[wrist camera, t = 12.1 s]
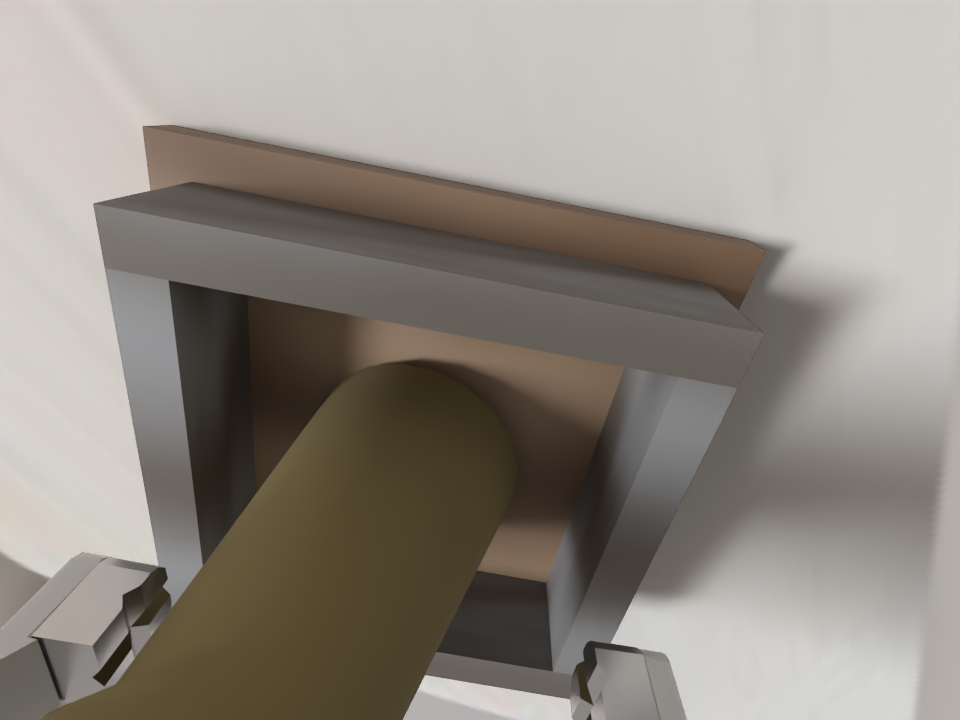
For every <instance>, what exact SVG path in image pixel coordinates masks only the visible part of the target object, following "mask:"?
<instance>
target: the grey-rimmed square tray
mask: <svg viewBox="0 0 960 720" xmlns="http://www.w3.org/2000/svg"><path fill="white" fill-rule="evenodd" d="M143 134H144V142H145V150H146V158H147V166H148V174H149V182H150V190H151V191H148V192H143V193H139V194H134V195H130V196H125V197H121V198H116V199H112V200H107V201H103V202H98V203H94V204H93V205H94V211H95V216H96V222H97V227H98V233H99V238H100V244H101V249H102V255H103V260H104V266H105V271H106V277H107V282H108V288H109V293H110V299H111V305H112V310H113V316H114V321H115V327H116V332H117V338H118V343H119V349H120V354H121V360H122V365H123V371H124V376H125V382H126V387H127V393H128V398H129V404H130V409H131V415H132V420H133V426H134V432H135V437H136V443H137V448H138V454H139V459H140V465H141V470H142V476H143V481H144V487H145V492H146V498H147V503H148V509H149V514H150V520H151V525H152V531H153V536H154V542H155V547H156V553H157V559H158V564H159V566H160V567H165V568H166V573H167V577H168V580H167V581H166V582H165V584H164V585H163V588H164V589H165V590H166V591H167V592H168V593H169V594H170V595H171V603H172V604H171V608H172V607H173V606H174V604H175V603H176V602H177V600H178V599H179V598H180V596H181V595H182V594H183V592H184V591H185V589H186V588H187V587H188V585H189V584H190V583H191V581H192V580H193V579H194V577H195V576H196V575H197V573H198V572H199V571H200V569H201V568H202V566H203V565H204V564H205V562H206V561H207V560H208V558H209V557H210V556H211V554H212V553H213V552H214V550H215V549H216V547H217V546H218V545H219V543H220V542H221V541H222V539H223V538H224V537H225V535H226V534H227V533H228V531H229V530H230V528H231V527H232V526H233V524H234V523H235V522H236V520H237V519H238V518H239V516H240V515H241V514H242V512H243V511H244V509H245V508H246V507H247V505H248V504H249V503H250V501H251V500H252V499H253V497H254V496H255V495H256V493H257V492H258V490H259V489H260V488H261V486H262V485H263V484H264V482H265V481H266V480H267V478H268V477H269V476H270V474H271V473H272V471H273V470H274V469H275V467H276V466H277V465H278V463H279V462H280V461H281V459H282V458H283V457H284V455H285V454H286V452H287V451H288V450H289V448H290V447H291V446H292V444H293V443H294V442H295V440H296V439H297V438H298V436H299V435H300V433H301V432H302V431H303V429H304V428H305V427H306V425H307V424H308V423H309V421H310V420H311V419H312V417H313V416H314V414H315V413H316V412H317V410H318V409H319V408H320V406H321V405H322V404H323V402H324V401H325V400H326V398H327V397H328V396H329V395H330V394H331V392H332V391H333V390H334V389H335V388H336V386H337V385H338V384H339V383H340V382H341V381H342V379H344V378H346V377H348V376H350V375H352V374H354V373H356V372H358V371H360V370H362V369H364V368H366V367H369V366H378V365H387V364H396V363H401V364H406V365H411V366H416V367H421V368H426V369H431V370H435V371H437V372H439V373H441V374H443V375H445V376H447V377H449V378H451V379H453V380H455V381H457V382H459V383H461V384H463V385H465V386H466V387H468V388H469V389H470V390H471V391H472V392H473V393H474V394H475V395H477V396H478V397H479V398H480V399H481V400H482V401H483V402H484V403H485V404H487V405H488V406H489V407H490V408H491V409H492V410H493V411H494V412H495V414H496V416H497V417H498V419H499V420H500V422H501V424H502V425H503V427H504V428H505V430H506V432H507V433H508V435H509V436H510V438H511V440H512V444H513V448H514V453H515V457H516V461H517V465H518V475H517V482H516V488H515V495H514V497H513V499H512V501H511V503H510V505H509V507H508V509H507V511H506V513H505V515H504V517H503V519H502V521H501V523H500V525H499V527H498V529H497V531H496V533H495V535H494V537H493V539H492V541H491V543H490V545H489V547H488V549H487V551H486V553H485V555H484V557H483V559H482V561H481V563H480V566H479V568H478V570H477V572H476V574H475V576H474V578H473V580H472V582H471V584H470V586H469V588H468V590H467V592H466V594H465V596H464V598H463V600H462V602H461V604H460V606H459V608H458V610H457V612H456V614H455V616H454V618H453V620H452V622H451V624H450V626H449V628H448V630H447V632H446V634H445V636H444V638H443V640H442V642H441V644H440V646H439V648H438V650H437V652H436V654H435V656H434V658H433V660H432V662H431V664H430V666H429V668H428V670H427V672H426V674H425V675H429V676H435V677H441V678H447V679H453V680H459V681H465V682H470V683H476V684H482V685H488V686H494V687H500V688H506V689H512V690H518V691H524V692H530V693H536V694H542V695H548V696H554V697H560V698H566V699H570V689H571V682H572V675H573V673H574V670H575V667H576V665H577V664H578V663H580V662H582V661H584V656H583V649H584V647H585V645H586V643H587V642H589V641H596V642H603V643H609V644H610V643H611V641H612V639H613V637H614V635H615V633H616V631H617V629H618V627H619V625H620V623H621V621H622V619H623V617H624V615H625V613H626V611H627V609H628V607H629V605H630V603H631V601H632V599H633V597H634V595H635V593H636V591H637V589H638V587H639V585H640V583H641V581H642V579H643V577H644V575H645V573H646V571H647V569H648V567H649V565H650V563H651V561H652V559H653V557H654V555H655V553H656V551H657V549H658V547H659V545H660V543H661V541H662V539H663V537H664V535H665V533H666V531H667V529H668V527H669V525H670V523H671V521H672V519H673V517H674V515H675V513H676V511H677V509H678V507H679V505H680V503H681V501H682V499H683V497H684V495H685V493H686V491H687V489H688V487H689V485H690V483H691V481H692V479H693V477H694V475H695V473H696V471H697V469H698V467H699V465H700V463H701V461H702V459H703V457H704V455H705V453H706V451H707V449H708V447H709V445H710V443H711V441H712V439H713V437H714V435H715V433H716V431H717V429H718V427H719V425H720V423H721V421H722V419H723V417H724V415H725V413H726V411H727V409H728V407H729V405H730V403H731V401H732V398H733V396H734V394H735V392H736V390H737V388H738V386H739V384H740V382H741V380H742V378H743V376H744V374H745V372H746V370H747V368H748V366H749V364H750V362H751V360H752V358H753V356H754V354H755V352H756V350H757V348H758V346H759V344H760V342H761V340H762V338H763V336H764V333H763V332H762V331H761V330H760V329H759V328H758V327H756V326H755V325H754V324H753V323H752V322H751V321H750V320H748V319H747V318H746V317H745V316H744V315H743V314H742V313H741V312H739V311H738V310H739V308H740V306H741V304H742V301H743V299H744V297H745V295H746V293H747V291H748V288H749V286H750V284H751V282H752V280H753V277H754V275H755V273H756V271H757V269H758V267H759V264H760V262H761V260H762V258H763V256H764V253H765V251H766V250H764V249H762V248H760V247H758V246H757V245H755V244H753V243H751V242H749V241H748V240H743V239H738V238H733V237H728V236H723V235H718V234H713V233H708V232H703V231H698V230H693V229H688V228H683V227H678V226H673V225H668V224H663V223H658V222H653V221H648V220H643V219H638V218H633V217H628V216H623V215H618V214H613V213H608V212H603V211H598V210H593V209H588V208H583V207H578V206H573V205H568V204H563V203H558V202H553V201H548V200H543V199H538V198H533V197H528V196H523V195H518V194H513V193H508V192H503V191H498V190H493V189H488V188H483V187H478V186H473V185H468V184H463V183H458V182H453V181H448V180H443V179H438V178H433V177H428V176H423V175H418V174H413V173H408V172H403V171H398V170H393V169H388V168H383V167H378V166H373V165H368V164H363V163H358V162H353V161H348V160H343V159H338V158H333V157H328V156H323V155H318V154H313V153H308V152H303V151H298V150H293V149H288V148H283V147H278V146H273V145H268V144H263V143H258V142H253V141H248V140H243V139H238V138H233V137H228V136H223V135H218V134H213V133H208V132H203V131H198V130H193V129H188V128H183V127H178V126H173V125H160V126H143Z"/></svg>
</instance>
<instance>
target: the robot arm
mask: <svg viewBox="0 0 960 720" xmlns="http://www.w3.org/2000/svg"><path fill="white" fill-rule="evenodd" d="M167 580H168V577H167V573H166V568H165V567H160V566H154V565H149V564H144V563H138V562H133V561H128V560H122V559H117V558H112V557H108V556H102V555H96V554H90V553H84V552H82V553H80V554H79V555H77V556H75V557H73V558H72V559H70V560H69V561H68V562H67V563H66V564H65V565H64V566H63V567H62V568H61V569H60V570H59V571H58V572H57V573H56V574H55V575H54V576H53V577H52V578H51V579H50V580H49V581H48V582H47V583H46V584H45V585H44V586H43V587H42V588H41V589H40V590H39V591H38V592H37V593H36V594H35V595H34V596H33V597H32V598H31V599H30V600H29V601H28V602H27V603H26V604H25V605H24V606H23V607H22V608H21V609H20V610H19V611H18V612H17V613H16V614H15V615H14V616H13V617H12V618H11V619H10V620H9V621H8V622H7V623H6V624H5V625H4V626H3V627H2V628H1V629H0V720H40V719H41V718H42V717H44V716H45V715H46V714H48V713H49V712H50V711H52V710H55V709H57V708H58V707H59V706H60V705H61V702H66V703H72V702H74V701H76V700H79V699H81V698H84V697H86V696H89V695H91V694H94V693H96V692H98V691H101V690H103V689H106V688H108V687H111V686H113V685H115V684H116V683H117V682H118V680H119V679H120V678H121V676H122V675H123V674H124V672H125V671H126V670H127V668H128V667H129V665H130V664H131V663H132V661H133V660H134V659H135V657H136V656H137V655H138V653H139V652H140V651H141V649H142V648H143V646H144V645H145V644H146V642H147V641H148V640H149V638H150V637H151V636H152V634H153V633H154V632H155V630H156V629H157V627H158V626H159V625H160V623H161V622H162V621H163V619H164V618H165V617H166V615H167V614H168V613H169V611H170V610H171V604H172V603H171V595H170V594H169V593H168V592H167V591H166V590H165V589H164V588H163V585H164V584H165V582H166V581H167ZM583 656H584V661H582V662H580V663H578V664H577V665H576V667H575V670H574V673H573V675H572V682H571V689H570V701H571V714H572V718H573V720H687V718H686V715H685V712H684V708H683V705H682V702H681V698H680V695H679V691H678V688H677V685H676V681H675V678H674V675H673V671H672V668H671V665H670V661H669V659H668V658H667V656H666V655H665V654H664V653H661V652H655V651H649V650H642V649H638V648H635V647H629V646H622V645H616V644H609V643H603V642H596V641H589V642H587V643H586V645H585V647H584V649H583Z"/></svg>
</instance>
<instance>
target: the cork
mask: <svg viewBox="0 0 960 720" xmlns="http://www.w3.org/2000/svg"><path fill="white" fill-rule="evenodd" d="M517 475H518V465H517V461H516V457H515V453H514V448H513V444H512V440H511V438H510V436H509V435H508V433H507V432H506V430H505V428H504V427H503V425H502V424H501V422H500V420H499V419H498V417H497V416H496V414H495V412H494V411H493V410H492V409H491V408H490V407H489V406H488V405H487V404H485V403H484V402H483V401H482V400H481V399H480V398H479V397H478V396H477V395H475V394H474V393H473V392H472V391H471V390H470V389H469V388H468V387H466V386H465V385H463V384H461V383H459V382H457V381H455V380H453V379H451V378H449V377H447V376H445V375H443V374H441V373H439V372H437V371H435V370H431V369H426V368H421V367H416V366H411V365H406V364H401V363H396V364H387V365H378V366H369V367H366V368H364V369H362V370H360V371H358V372H356V373H354V374H352V375H350V376H348V377H346V378H344V379H342V381H341V382H340V383H339V384H338V385H337V386H336V388H335V389H334V390H333V391H332V392H331V394H330V395H329V396H328V397H327V398H326V400H325V401H324V402H323V404H322V405H321V406H320V408H319V409H318V410H317V412H316V413H315V414H314V416H313V417H312V419H311V420H310V421H309V423H308V424H307V425H306V427H305V428H304V429H303V431H302V432H301V433H300V435H299V436H298V438H297V439H296V440H295V442H294V443H293V444H292V446H291V447H290V448H289V450H288V451H287V452H286V454H285V455H284V457H283V458H282V459H281V461H280V462H279V463H278V465H277V466H276V467H275V469H274V470H273V471H272V473H271V474H270V476H269V477H268V478H267V480H266V481H265V482H264V484H263V485H262V486H261V488H260V489H259V490H258V492H257V493H256V495H255V496H254V497H253V499H252V500H251V501H250V503H249V504H248V505H247V507H246V508H245V509H244V511H243V512H242V514H241V515H240V516H239V518H238V519H237V520H236V522H235V523H234V524H233V526H232V527H231V528H230V530H229V531H228V533H227V534H226V535H225V537H224V538H223V539H222V541H221V542H220V543H219V545H218V546H217V547H216V549H215V550H214V552H213V553H212V554H211V556H210V557H209V558H208V560H207V561H206V562H205V564H204V565H203V566H202V568H201V569H200V571H199V572H198V573H197V575H196V576H195V577H194V579H193V580H192V581H191V583H190V584H189V585H188V587H187V588H186V589H185V591H184V592H183V594H182V595H181V596H180V598H179V599H178V600H177V602H176V603H175V604H174V606H173V607H172V608H171V610H170V611H169V613H168V614H167V615H166V617H165V618H164V619H163V621H162V622H161V623H160V625H159V626H158V627H157V629H156V630H155V632H154V633H153V634H152V636H151V637H150V638H149V640H148V641H147V642H146V644H145V645H144V646H143V648H142V649H141V651H140V652H139V653H138V655H137V656H136V657H135V659H134V660H133V661H132V663H131V664H130V665H129V667H128V668H127V670H126V671H125V672H124V674H123V675H122V676H121V678H120V679H119V680H118V682H117V683H116V684H115V685H113V686H111V687H108V688H106V689H103V690H101V691H98V692H96V693H94V694H91V695H89V696H86V697H84V698H81V699H79V700H76V701H74V702H72V703H69V704H67V705H64V706H62V707H60V708H57V709H55V710H52V711H50V712H49V713H48V714H46V715H45V716H44V717H42V718H41V719H40V720H403V717H404V715H405V713H406V711H407V709H408V708H409V705H410V703H411V701H412V700H413V698H414V695H415V694H416V692H417V690H418V688H419V686H420V684H421V682H422V680H423V678H424V676H425V674H426V672H427V670H428V668H429V666H430V664H431V662H432V660H433V658H434V656H435V654H436V652H437V650H438V648H439V646H440V644H441V642H442V640H443V638H444V636H445V634H446V632H447V630H448V628H449V626H450V624H451V622H452V620H453V618H454V616H455V614H456V612H457V610H458V608H459V606H460V604H461V602H462V600H463V598H464V596H465V594H466V592H467V590H468V588H469V586H470V584H471V582H472V580H473V578H474V576H475V574H476V572H477V570H478V568H479V566H480V563H481V561H482V559H483V557H484V555H485V553H486V551H487V549H488V547H489V545H490V543H491V541H492V539H493V537H494V535H495V533H496V531H497V529H498V527H499V525H500V523H501V521H502V519H503V517H504V515H505V513H506V511H507V509H508V507H509V505H510V503H511V501H512V499H513V497H514V495H515V488H516V482H517Z"/></svg>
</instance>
